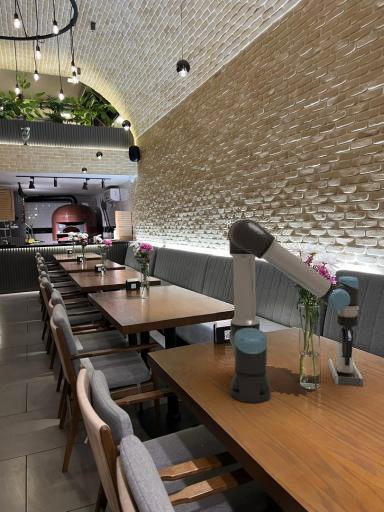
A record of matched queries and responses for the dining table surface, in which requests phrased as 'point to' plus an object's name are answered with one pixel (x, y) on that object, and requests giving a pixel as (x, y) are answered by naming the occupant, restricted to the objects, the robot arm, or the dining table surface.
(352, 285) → the robot arm
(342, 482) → the dining table surface
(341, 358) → the can
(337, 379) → the grey flat u-shaped frame
